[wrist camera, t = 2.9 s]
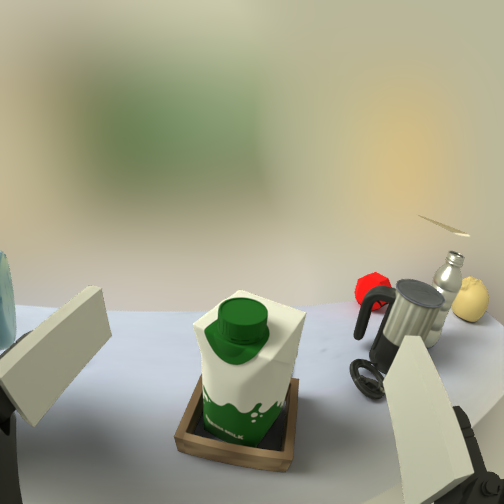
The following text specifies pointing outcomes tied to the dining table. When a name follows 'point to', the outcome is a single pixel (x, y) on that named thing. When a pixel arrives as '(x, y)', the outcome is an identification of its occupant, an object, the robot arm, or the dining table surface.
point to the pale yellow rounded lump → (471, 300)
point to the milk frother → (393, 327)
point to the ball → (370, 287)
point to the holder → (232, 451)
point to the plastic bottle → (445, 292)
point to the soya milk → (246, 365)
